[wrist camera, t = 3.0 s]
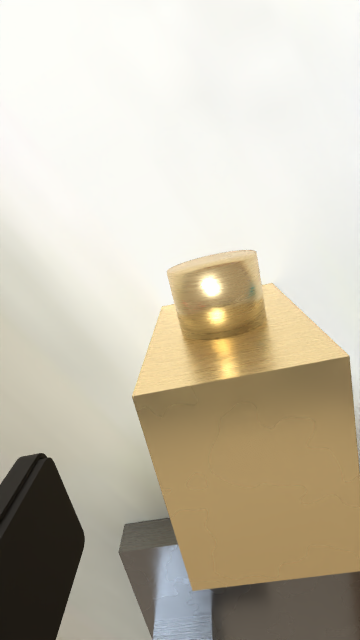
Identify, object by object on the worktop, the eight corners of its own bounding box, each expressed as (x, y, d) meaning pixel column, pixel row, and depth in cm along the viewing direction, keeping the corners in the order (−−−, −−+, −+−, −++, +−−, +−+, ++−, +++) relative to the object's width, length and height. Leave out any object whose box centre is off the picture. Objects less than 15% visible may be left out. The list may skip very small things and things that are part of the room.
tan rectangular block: (264, 234, 13) (341, 262, 6) (296, 446, 16) (371, 620, 9) (150, 261, 13) (105, 312, 7) (201, 461, 16) (207, 637, 9)
